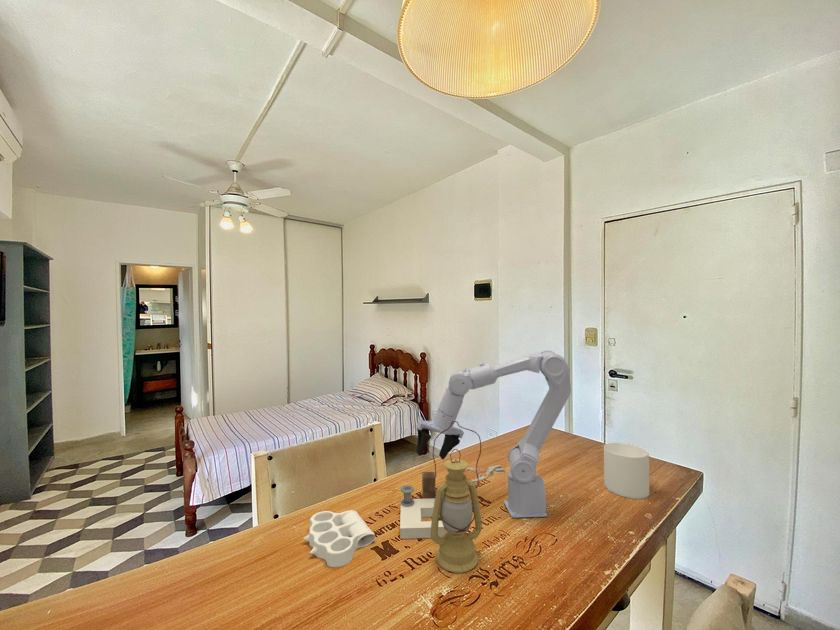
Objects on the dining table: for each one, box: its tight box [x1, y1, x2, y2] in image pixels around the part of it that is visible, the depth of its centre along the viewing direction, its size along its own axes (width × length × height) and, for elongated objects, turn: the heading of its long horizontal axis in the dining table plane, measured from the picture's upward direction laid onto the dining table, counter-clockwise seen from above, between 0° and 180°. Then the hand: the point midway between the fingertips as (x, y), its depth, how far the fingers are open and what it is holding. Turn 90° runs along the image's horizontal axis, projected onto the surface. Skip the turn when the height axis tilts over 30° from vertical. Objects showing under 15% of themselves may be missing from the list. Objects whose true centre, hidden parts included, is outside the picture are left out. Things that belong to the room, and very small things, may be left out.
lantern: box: [430, 420, 483, 574], centre depth 76 cm, size 12×10×30 cm
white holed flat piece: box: [302, 509, 376, 568], centre depth 82 cm, size 3×18×15 cm
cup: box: [603, 442, 650, 500], centre depth 104 cm, size 12×12×12 cm
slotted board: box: [399, 484, 447, 540], centre depth 89 cm, size 12×13×6 cm
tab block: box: [421, 471, 437, 499], centre depth 100 cm, size 4×4×7 cm
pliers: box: [465, 464, 506, 483], centre depth 116 cm, size 10×2×15 cm
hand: (430, 455), depth 98 cm, fingers open, 7 cm apart
